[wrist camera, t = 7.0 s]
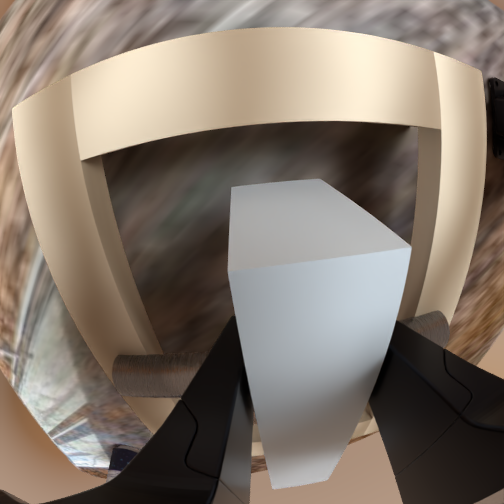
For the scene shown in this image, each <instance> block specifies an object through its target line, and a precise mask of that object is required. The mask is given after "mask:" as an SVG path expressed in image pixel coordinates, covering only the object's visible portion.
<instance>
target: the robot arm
mask: <svg viewBox="0 0 504 504" xmlns="http://www.w3.org/2000/svg"><path fill="white" fill-rule="evenodd" d="M490 86H491V95H492V106H493V127H494V149H493V151H494V156H495V157H496V158H499V159H504V82H503V81H501V80H499V79H497V78H490ZM368 402H369V405H370V407H371V410H372V413H373V415H374V418H375V421H376V423H377V426H378V429H379V431H380V434H381V437H382V440H383V442H384V445H385V448H386V451H387V454H388V457H389V460H390V463H391V466H392V469H393V472H394V475H395V479H396V482H397V485H398V488H399V491H400V495H401V498H402V502H403V504H504V379H502V378H499V377H497V376H495V375H493V374H491V373H489V372H487V371H485V370H483V369H481V368H479V367H477V366H475V365H473V364H471V363H469V362H467V361H465V360H464V359H462V358H460V357H458V356H457V355H455V354H453V353H451V352H450V351H448V350H446V349H444V350H443V347H441V346H440V345H438V344H436V343H435V342H433V341H431V340H430V339H428V338H426V337H425V336H423V335H421V334H420V333H418V332H416V331H415V330H413V329H411V328H409V327H408V326H406V325H404V324H403V323H401V322H399V321H398V320H396V322H395V326H394V329H393V333H392V336H391V339H390V343H389V346H388V349H387V352H386V355H385V358H384V361H383V364H382V367H381V369H380V372H379V375H378V377H377V380H376V383H375V385H374V388H373V390H372V393H371V395H370V398H369V400H368ZM253 408H254V406H253V401H252V397H251V392H250V387H249V382H248V377H247V373H246V368H245V363H244V357H243V352H242V347H241V342H240V337H239V332H238V326H237V321H236V316H232V317H231V318H230V320H229V322H228V323H227V325H226V326H225V328H224V330H223V331H222V333H221V334H220V336H219V338H218V339H217V341H216V342H215V344H214V346H213V347H212V349H211V350H210V352H209V354H208V355H207V357H206V358H205V360H204V362H203V363H202V365H201V366H200V368H199V369H198V371H197V373H196V374H195V376H194V377H193V379H192V380H191V382H190V384H189V385H188V387H187V388H186V390H185V391H184V393H183V395H182V396H181V399H180V400H178V402H177V404H176V405H175V407H174V408H173V410H172V411H171V413H170V414H169V416H168V417H167V418H166V420H165V421H164V423H163V424H162V425H161V427H160V428H159V429H158V430H157V432H156V433H155V434H154V435H153V436H152V438H151V439H150V440H149V441H148V442H147V443H146V445H145V446H144V447H143V448H142V449H141V450H140V451H139V452H138V454H137V455H136V456H135V457H134V458H133V459H132V460H131V461H130V462H129V464H128V465H127V466H126V467H125V468H124V469H123V470H122V471H121V472H120V473H119V474H118V475H117V476H116V477H114V478H113V479H111V480H110V481H108V482H107V483H105V484H103V485H101V486H98V487H95V488H93V489H90V490H87V491H84V492H81V493H78V494H75V495H72V496H68V497H65V498H61V499H58V500H54V501H50V502H46V503H41V504H249V501H250V479H251V457H252V433H253ZM0 504H29V503H27V502H25V501H23V500H21V499H19V498H17V497H15V496H14V495H12V494H10V493H8V492H6V491H4V490H0Z"/></svg>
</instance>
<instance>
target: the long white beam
mask: <svg viewBox="0 0 504 504" xmlns="http://www.w3.org/2000/svg"><path fill="white" fill-rule="evenodd" d="M411 249H412V247H411V246H410V245H409V244H408V243H406V242H405V241H404V240H403V239H402V238H400V237H399V236H398V235H397V234H395V233H394V232H393V231H392V230H390V229H389V228H388V227H386V226H385V225H384V224H383V223H381V222H380V221H379V220H377V219H376V218H375V217H373V216H372V215H371V214H369V213H368V212H367V211H365V210H364V209H363V208H361V207H360V206H359V205H357V204H356V203H354V202H353V201H352V200H350V199H349V198H347V197H346V196H345V195H343V194H342V193H340V192H339V191H337V190H336V189H334V188H333V187H331V186H330V185H329V184H327V183H326V182H324V181H323V180H321V179H307V180H295V181H283V182H273V183H263V184H254V185H245V186H237V187H232V188H231V206H230V227H229V249H228V276H229V282H230V288H231V294H232V299H233V305H234V310H235V316H236V321H237V326H238V332H239V337H240V342H241V347H242V352H243V357H244V363H245V368H246V373H247V377H248V382H249V387H250V392H251V397H252V401H253V406H254V411H255V415H256V420H257V425H258V429H259V434H260V438H261V442H262V447H263V451H264V455H265V460H266V464H267V468H268V472H269V476H270V480H271V485H272V488H273V489H279V488H287V487H294V486H300V485H306V484H311V483H316V482H321V481H326V480H328V478H329V477H330V475H331V473H332V471H333V470H334V468H335V466H336V465H337V463H338V461H339V459H340V458H341V456H342V454H343V452H344V450H345V449H346V447H347V445H348V443H349V441H350V439H351V437H352V435H353V433H354V431H355V429H356V427H357V425H358V423H359V420H360V418H361V416H362V414H363V412H364V409H365V407H366V405H367V402H368V400H369V398H370V395H371V393H372V390H373V388H374V385H375V383H376V380H377V377H378V375H379V372H380V369H381V367H382V364H383V361H384V358H385V355H386V352H387V349H388V346H389V343H390V339H391V336H392V333H393V329H394V326H395V322H396V319H397V315H398V311H399V307H400V303H401V299H402V295H403V291H404V286H405V281H406V277H407V272H408V266H409V261H410V255H411Z"/></svg>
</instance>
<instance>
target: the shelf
mask: <svg viewBox="0 0 504 504" xmlns="http://www.w3.org/2000/svg"><path fill="white" fill-rule="evenodd" d="M12 116H13V128H14V137H15V145H16V152H17V158H18V164H19V170H20V175H21V180H22V184H23V189H24V193H25V197H26V201H27V205H28V208H29V212H30V215H31V219H32V222H33V225H34V229H35V232H36V235H37V238H38V241H39V244H40V246H41V249H42V252H43V255H44V257H45V260H46V262H47V265H48V267H49V270H50V272H51V275H52V277H53V279H54V282H55V284H56V286H57V288H58V291H59V293H60V295H61V297H62V299H63V301H64V303H65V305H66V307H67V309H68V311H69V313H70V315H71V317H72V319H73V321H74V323H75V325H76V326H77V328H78V330H79V332H80V334H81V335H82V337H83V339H84V340H85V342H86V344H87V346H88V347H89V349H90V350H91V352H92V354H93V355H94V357H95V358H96V360H97V362H98V363H99V365H100V366H101V368H102V369H103V371H104V372H105V374H106V375H107V377H108V378H109V379H110V381H111V382H112V384H113V385H114V383H113V378H112V367H113V362H114V360H115V358H116V357H117V356H118V355H148V354H164V353H163V351H162V349H161V346H160V344H159V342H158V340H157V337H156V335H155V333H154V330H153V328H152V326H151V323H150V321H149V318H148V316H147V313H146V311H145V308H144V306H143V303H142V300H141V298H140V295H139V292H138V289H137V287H136V284H135V281H134V278H133V275H132V272H131V269H130V266H129V263H128V260H127V257H126V254H125V251H124V247H123V244H122V241H121V237H120V234H119V230H118V227H117V223H116V219H115V216H114V212H113V208H112V204H111V200H110V195H109V191H108V187H107V182H106V177H105V173H104V168H103V162H102V157H101V155H104V154H107V153H111V152H114V151H118V150H121V149H125V148H129V147H133V146H137V145H140V144H142V143H146V142H150V141H155V140H159V139H164V138H169V137H174V136H179V135H184V134H190V133H196V132H202V131H208V130H215V129H222V128H230V127H238V126H247V125H257V124H269V123H284V122H307V121H352V122H369V123H380V124H393V125H404V126H413V127H418V178H417V194H416V206H415V216H414V225H413V233H412V240H411V247H412V249H411V255H410V261H409V266H408V272H407V277H406V281H405V286H404V291H403V295H402V299H401V303H400V307H399V311H398V315H397V319H396V320H398V321H399V320H403V319H406V318H410V317H417V316H420V315H423V314H427V313H430V312H433V311H437V310H439V311H441V312H442V313H443V314H444V315H445V317H446V319H447V321H448V324H450V322H451V319H452V317H453V314H454V311H455V309H456V306H457V303H458V300H459V298H460V295H461V292H462V288H463V285H464V282H465V279H466V275H467V272H468V268H469V265H470V261H471V257H472V253H473V249H474V245H475V240H476V235H477V230H478V225H479V220H480V214H481V207H482V200H483V192H484V183H485V171H486V150H487V127H486V106H485V95H484V85H483V78H482V71H480V70H478V69H476V68H474V67H471V66H469V65H467V64H464V63H462V62H460V61H457V60H455V59H452V58H450V57H447V56H444V55H442V54H439V53H436V52H433V51H430V50H427V49H424V48H420V47H417V46H414V45H410V44H407V43H403V42H399V41H395V40H391V39H386V38H381V37H377V36H371V35H366V34H360V33H353V32H346V31H338V30H329V29H316V28H296V27H269V28H248V29H236V30H226V31H218V32H211V33H204V34H198V35H192V36H187V37H182V38H177V39H173V40H168V41H164V42H160V43H156V44H153V45H149V46H145V47H142V48H139V49H135V50H132V51H129V52H126V53H123V54H120V55H117V56H114V57H112V58H109V59H106V60H104V61H101V62H99V63H96V64H94V65H91V66H89V67H87V68H84V69H82V70H80V71H78V72H75V73H73V74H71V75H69V76H67V77H65V78H63V79H61V80H59V81H57V82H55V83H53V84H51V85H50V86H48V87H46V88H44V89H42V90H41V91H39V92H37V93H36V94H34V95H32V96H31V97H29V98H27V99H26V100H24V101H23V102H21V103H19V104H18V105H16V106H15V107H13V108H12ZM121 396H122V395H121ZM122 397H123V399H124V400H125V401H126V402H127V404H128V405H129V406H130V408H131V409H132V410H133V411H134V412H135V414H136V415H137V416H138V417H139V419H140V420H141V421H142V422H143V423H144V424H145V426H146V427H147V428H148V429H149V430H150V431H151V432H152V433H153V435H154V434H155V433H156V432H157V430H158V429H159V428H160V427H161V425H162V424H163V423H164V421H165V420H166V418H167V417H168V416H169V414H170V413H171V411H172V410H173V408H174V407H175V405H176V404H177V402H178V400H180V399H181V398H147V397H130V396H122ZM378 430H379V429H378V426H377V423H376V421H375V418H374V415H373V413H372V410H371V407H370V405H369V402H367V405H366V407H365V409H364V412H363V414H362V416H361V418H360V420H359V423H358V425H357V427H356V429H355V431H354V433H353V435H352V437H351V439H352V438H356V437H359V436H362V435H366V434H369V433H372V432H375V431H378ZM259 455H264V451H263V447H262V442H261V438H260V434H259V429H258V425H253V433H252V456H259Z"/></svg>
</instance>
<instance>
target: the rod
mask: <svg viewBox="0 0 504 504" xmlns="http://www.w3.org/2000/svg"><path fill="white" fill-rule="evenodd" d="M399 322H401V323H403V324H404V325H406V326H408V327H409V328H411V329H413V330H415V331H416V332H418V333H420V334H421V335H423V336H425V337H426V338H428V339H430V340H431V341H433V342H435V343H436V344H438V345H440V346H441V347H443V348H444V347H445V346H446V345H447V343H448V340H449V334H450V331H449V324H448V321H447V319H446V317H445V315H444V314H443V313H442V312H441V311H439V310H437V311H433V312H430V313H427V314H423V315H420V316H417V317H410V318H406V319H403V320H399ZM208 354H209V352H197V353H176V354H148V355H118V356H117V357H116V358H115V360H114V362H113V367H112V378H113V383H114V386H115V388H116V390H117V392H118V393H119V394H120V395H122V396H130V397H147V398H181V396H182V395H183V393H184V391H185V390H186V388H187V387H188V385H189V384H190V382H191V380H192V379H193V377H194V376H195V374H196V373H197V371H198V369H199V368H200V366H201V365H202V363H203V362H204V360H205V358H206V357H207V355H208Z"/></svg>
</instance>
